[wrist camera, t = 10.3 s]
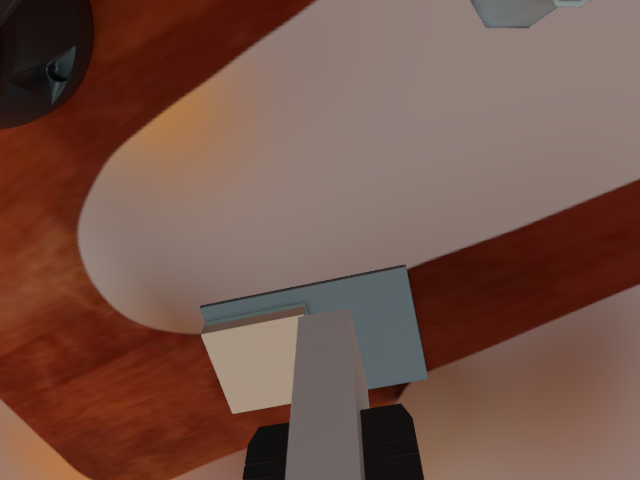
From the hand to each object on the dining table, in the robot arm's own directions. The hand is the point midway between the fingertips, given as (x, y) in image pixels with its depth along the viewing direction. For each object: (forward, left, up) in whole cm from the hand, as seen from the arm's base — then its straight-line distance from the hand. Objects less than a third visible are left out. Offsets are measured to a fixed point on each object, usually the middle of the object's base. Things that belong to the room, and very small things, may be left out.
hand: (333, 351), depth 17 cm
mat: (-6, -20, -28) cm, 35 cm away
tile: (-6, -20, -27) cm, 34 cm away
